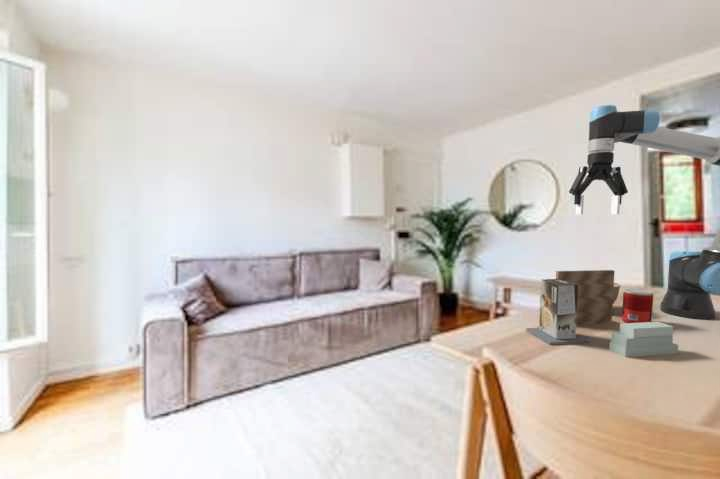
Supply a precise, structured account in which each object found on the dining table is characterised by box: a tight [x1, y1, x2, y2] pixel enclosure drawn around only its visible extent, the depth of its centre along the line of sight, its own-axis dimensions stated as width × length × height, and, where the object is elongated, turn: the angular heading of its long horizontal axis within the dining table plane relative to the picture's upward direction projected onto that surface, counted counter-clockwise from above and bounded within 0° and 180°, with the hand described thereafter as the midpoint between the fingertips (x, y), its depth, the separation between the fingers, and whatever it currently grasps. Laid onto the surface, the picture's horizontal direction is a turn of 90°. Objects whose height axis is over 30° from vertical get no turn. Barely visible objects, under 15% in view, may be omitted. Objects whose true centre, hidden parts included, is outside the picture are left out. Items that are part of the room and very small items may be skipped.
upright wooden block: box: [555, 269, 615, 325], centre depth 122 cm, size 20×6×18 cm, turn 96°
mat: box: [525, 327, 590, 346], centre depth 108 cm, size 12×12×1 cm
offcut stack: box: [608, 321, 679, 358], centre depth 97 cm, size 16×5×8 cm, turn 98°
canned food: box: [621, 288, 654, 323], centre depth 121 cm, size 8×8×11 cm
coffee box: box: [538, 278, 578, 339], centre depth 107 cm, size 9×6×16 cm
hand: (597, 214), depth 125 cm, fingers open, 13 cm apart
